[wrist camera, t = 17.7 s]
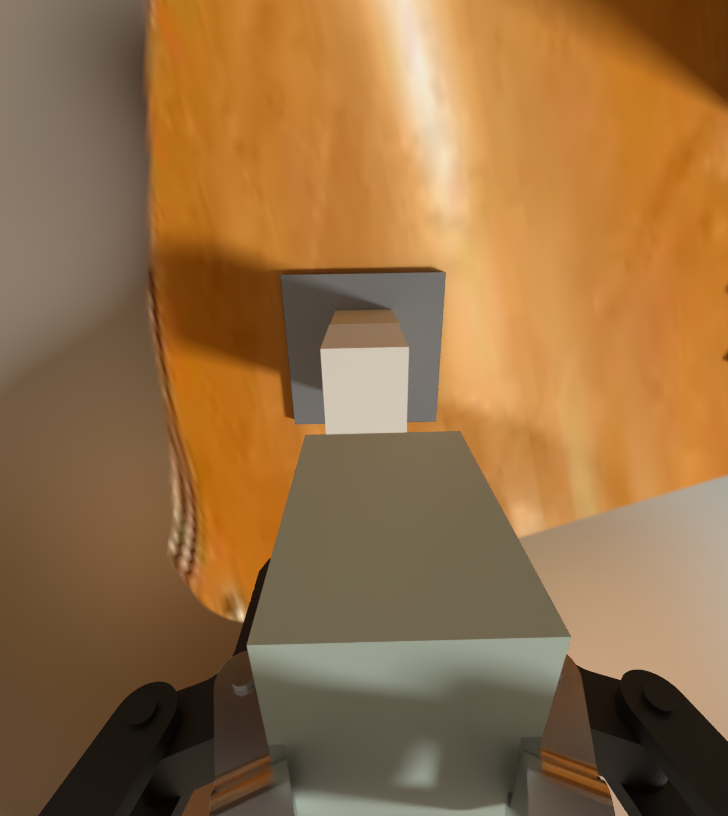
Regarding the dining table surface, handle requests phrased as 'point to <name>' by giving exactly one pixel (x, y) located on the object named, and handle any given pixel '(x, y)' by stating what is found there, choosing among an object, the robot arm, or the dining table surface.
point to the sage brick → (401, 632)
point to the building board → (363, 295)
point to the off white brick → (365, 378)
